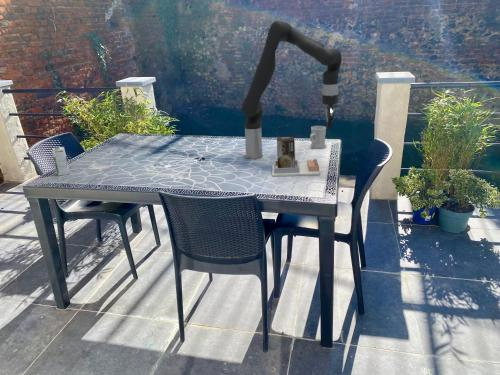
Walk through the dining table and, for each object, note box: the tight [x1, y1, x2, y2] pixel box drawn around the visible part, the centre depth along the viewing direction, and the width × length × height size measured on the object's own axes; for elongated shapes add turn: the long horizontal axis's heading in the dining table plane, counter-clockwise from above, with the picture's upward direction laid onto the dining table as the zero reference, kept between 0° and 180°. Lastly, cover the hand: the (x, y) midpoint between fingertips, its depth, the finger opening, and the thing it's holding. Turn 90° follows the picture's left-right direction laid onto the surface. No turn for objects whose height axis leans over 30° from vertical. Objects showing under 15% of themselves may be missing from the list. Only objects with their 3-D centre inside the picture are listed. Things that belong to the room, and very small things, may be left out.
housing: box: [271, 159, 321, 178], centre depth 205 cm, size 24×16×4 cm
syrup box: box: [51, 146, 70, 177], centre depth 217 cm, size 6×6×14 cm
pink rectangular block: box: [306, 158, 320, 172], centre depth 204 cm, size 5×10×3 cm, turn 177°
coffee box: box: [276, 136, 296, 168], centre depth 203 cm, size 9×6×16 cm
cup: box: [309, 125, 327, 150], centre depth 239 cm, size 10×9×12 cm
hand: (329, 128), depth 197 cm, fingers closed
